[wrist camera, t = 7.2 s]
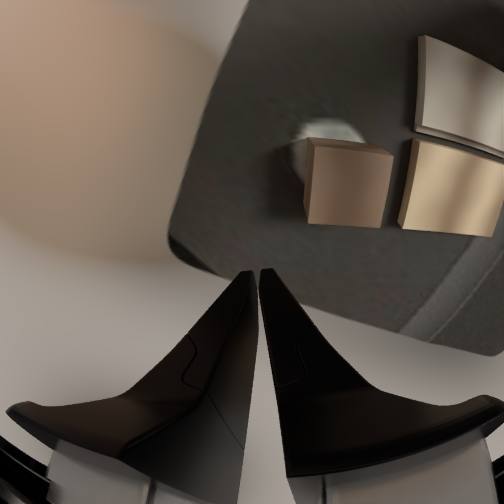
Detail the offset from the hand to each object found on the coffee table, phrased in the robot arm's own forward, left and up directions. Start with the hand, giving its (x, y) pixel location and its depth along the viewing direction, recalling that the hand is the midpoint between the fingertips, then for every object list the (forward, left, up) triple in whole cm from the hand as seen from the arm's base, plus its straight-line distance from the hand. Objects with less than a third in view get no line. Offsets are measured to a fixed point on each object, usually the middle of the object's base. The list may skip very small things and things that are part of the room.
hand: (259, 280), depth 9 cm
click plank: (-16, 0, -12) cm, 20 cm away
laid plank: (-16, -9, -12) cm, 22 cm away
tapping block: (-5, 0, -12) cm, 13 cm away
